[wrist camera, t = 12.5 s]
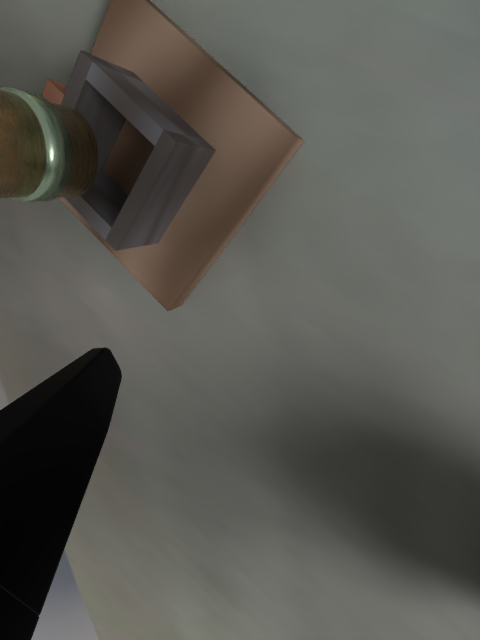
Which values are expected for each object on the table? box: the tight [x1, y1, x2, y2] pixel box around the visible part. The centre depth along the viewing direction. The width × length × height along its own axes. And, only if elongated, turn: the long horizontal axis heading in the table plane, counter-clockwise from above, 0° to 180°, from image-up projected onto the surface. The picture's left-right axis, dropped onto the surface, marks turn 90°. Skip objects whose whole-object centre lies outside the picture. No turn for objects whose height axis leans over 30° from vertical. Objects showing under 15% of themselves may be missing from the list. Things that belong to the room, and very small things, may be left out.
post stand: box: [42, 0, 304, 311], centre depth 20 cm, size 12×12×5 cm
